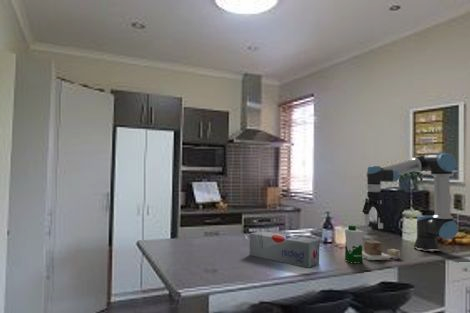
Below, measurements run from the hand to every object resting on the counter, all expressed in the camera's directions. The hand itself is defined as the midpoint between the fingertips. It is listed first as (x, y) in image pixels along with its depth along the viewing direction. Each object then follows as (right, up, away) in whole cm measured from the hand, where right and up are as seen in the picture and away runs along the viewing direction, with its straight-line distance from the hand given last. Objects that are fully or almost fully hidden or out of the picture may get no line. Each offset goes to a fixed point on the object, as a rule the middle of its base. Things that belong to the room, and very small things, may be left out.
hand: (373, 226), depth 217 cm
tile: (-1, -19, -1) cm, 19 cm away
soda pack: (-56, -18, -10) cm, 60 cm away
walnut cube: (-1, -16, -1) cm, 16 cm away
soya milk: (-16, -18, -11) cm, 27 cm away
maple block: (+12, -19, -1) cm, 22 cm away
